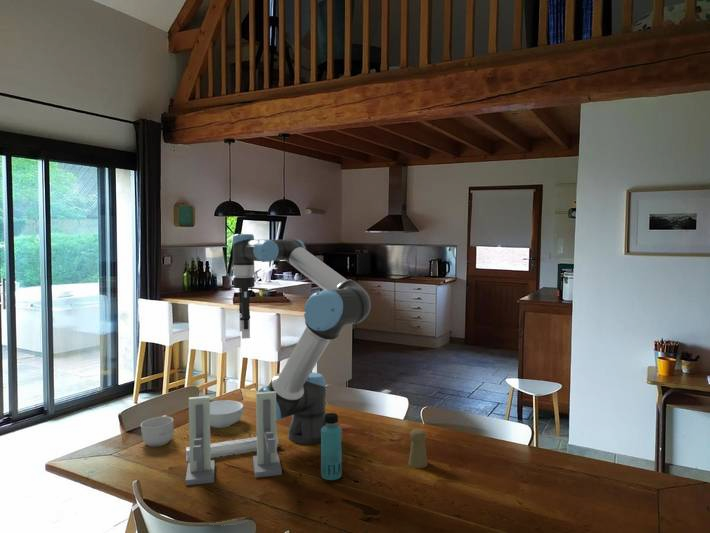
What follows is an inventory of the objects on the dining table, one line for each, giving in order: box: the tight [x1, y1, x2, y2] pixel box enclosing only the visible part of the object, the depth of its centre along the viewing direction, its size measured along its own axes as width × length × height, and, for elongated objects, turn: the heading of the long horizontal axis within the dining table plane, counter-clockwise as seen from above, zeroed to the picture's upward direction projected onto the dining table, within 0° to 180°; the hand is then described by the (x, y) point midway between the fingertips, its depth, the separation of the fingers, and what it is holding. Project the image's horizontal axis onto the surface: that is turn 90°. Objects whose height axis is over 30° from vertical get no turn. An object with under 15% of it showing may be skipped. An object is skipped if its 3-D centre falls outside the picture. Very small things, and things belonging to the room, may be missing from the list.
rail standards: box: [185, 391, 283, 486], centre depth 156 cm, size 28×23×24 cm
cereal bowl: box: [210, 399, 244, 429], centre depth 201 cm, size 17×17×7 cm
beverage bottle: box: [320, 412, 343, 481], centre depth 155 cm, size 6×7×20 cm
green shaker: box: [408, 428, 428, 469], centre depth 166 cm, size 6×6×11 cm
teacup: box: [139, 414, 175, 448], centre depth 184 cm, size 14×11×8 cm
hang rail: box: [185, 435, 279, 463], centre depth 175 cm, size 30×3×4 cm, turn 112°
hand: (244, 334), depth 191 cm, fingers open, 13 cm apart
